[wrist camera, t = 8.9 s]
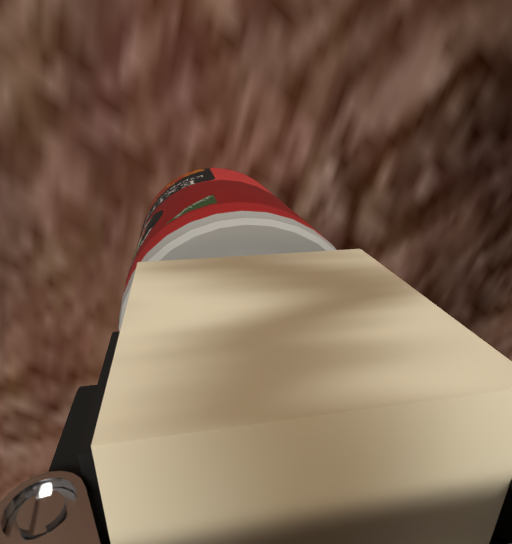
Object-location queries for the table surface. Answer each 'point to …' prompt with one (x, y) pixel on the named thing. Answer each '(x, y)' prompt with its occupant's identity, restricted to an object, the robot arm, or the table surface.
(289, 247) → the canned food
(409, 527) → the birch block
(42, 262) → the table surface
